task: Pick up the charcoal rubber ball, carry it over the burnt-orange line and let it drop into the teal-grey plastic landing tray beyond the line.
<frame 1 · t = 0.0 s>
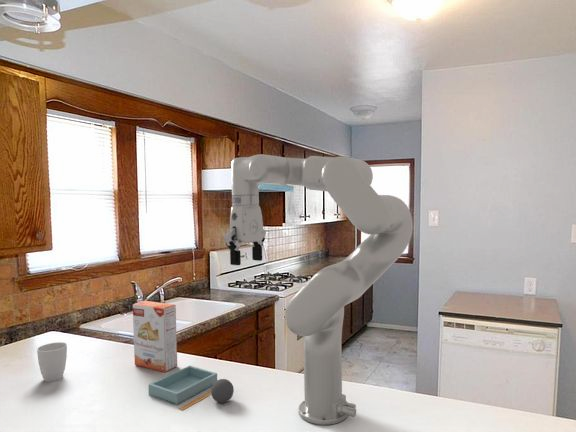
hand: (246, 262, 118), 37 cm above the countertop, tool pointing down, fingers open, 9 cm apart
landing tray: (183, 388, 121), on the countertop
ball: (222, 401, 113), on the countertop
cup: (53, 379, 130), on the countertop
cracker box: (155, 366, 139), on the countertop
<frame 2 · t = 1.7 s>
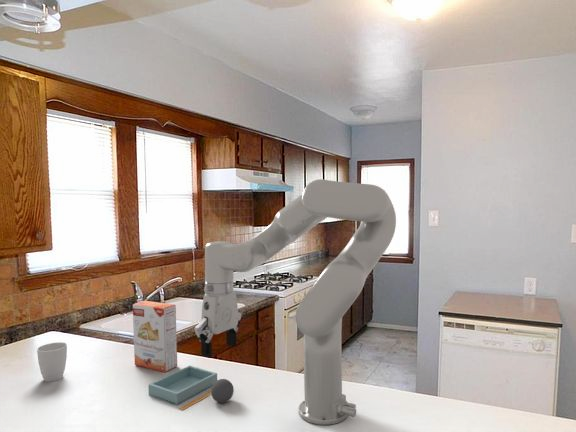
hand: (219, 350, 113), 14 cm above the countertop, tool pointing down, fingers open, 9 cm apart
nothing on the countertop moved.
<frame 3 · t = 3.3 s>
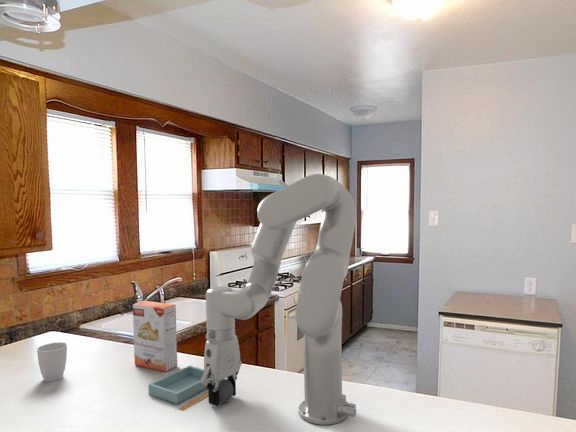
hand: (222, 398, 113), 1 cm above the countertop, tool pointing down, fingers closed on ball, 5 cm apart
ball: (222, 401, 113), on the countertop, touching gripper
everything else where it was.
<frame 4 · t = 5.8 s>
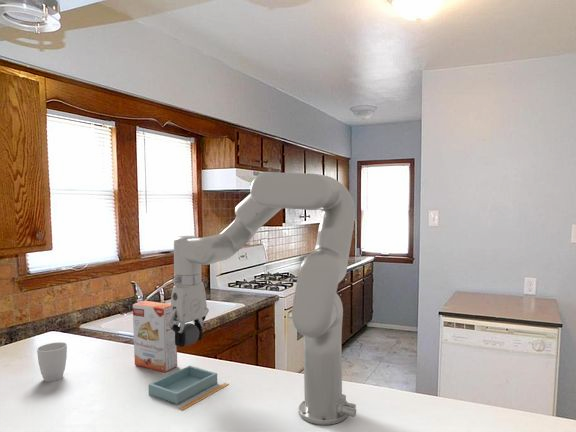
hand: (188, 341, 119), 14 cm above the countertop, tool pointing down, fingers closed on ball, 5 cm apart
ball: (188, 344, 119), point 14 cm above the countertop, touching gripper
everything else where it was.
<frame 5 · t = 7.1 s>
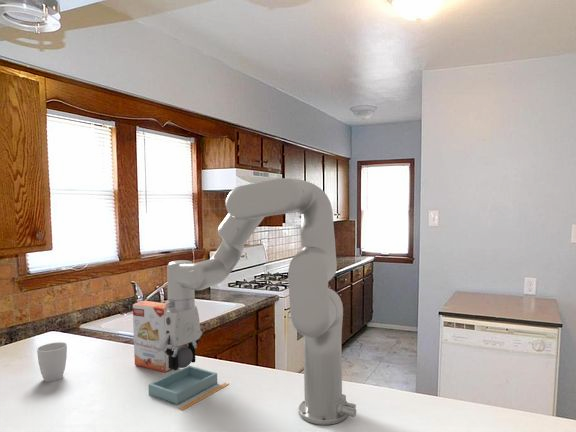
hand: (182, 364, 121), 7 cm above the countertop, tool pointing down, fingers closed on ball, 5 cm apart
ball: (182, 367, 121), point 6 cm above the countertop, touching gripper
everything else where it was.
when the fingers open (4 cm above the countertop, at t = 8.1 s): ball drops 2 cm, resting on landing tray.
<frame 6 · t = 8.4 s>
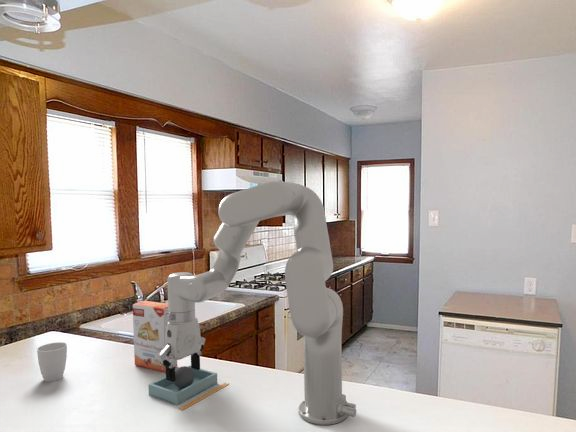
hand: (183, 374, 121), 4 cm above the countertop, tool pointing down, fingers open, 9 cm apart
ball: (184, 387, 121), resting on landing tray
everything else where it was.
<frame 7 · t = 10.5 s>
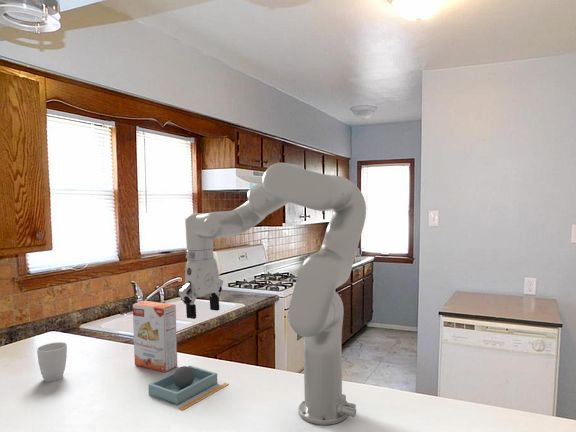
hand: (203, 314, 122), 21 cm above the countertop, tool pointing down, fingers open, 9 cm apart
nothing on the countertop moved.
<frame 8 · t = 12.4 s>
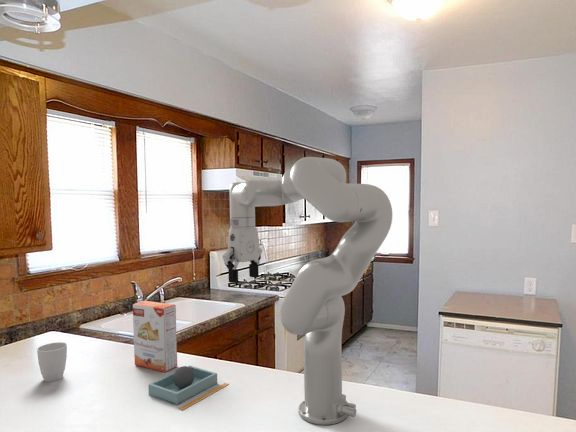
hand: (244, 279, 127), 30 cm above the countertop, tool pointing down, fingers open, 9 cm apart
nothing on the countertop moved.
at the end: ball inside the target area on the landing tray (0.0 cm from its centre), point 0.4 cm above the landing tray's base; ball moved 15.0 cm from its start; the gripper is holding nothing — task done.
